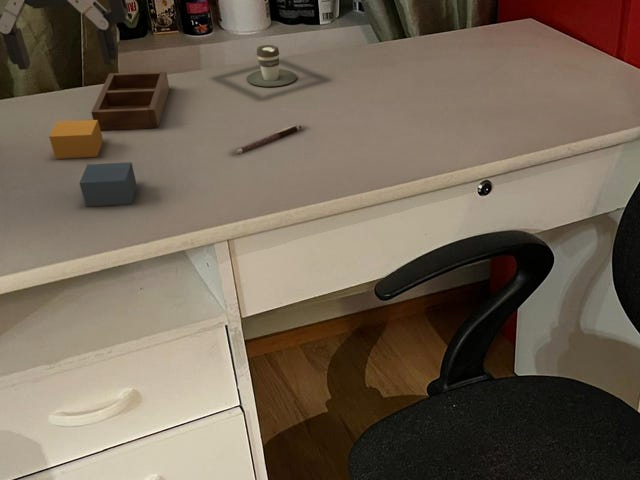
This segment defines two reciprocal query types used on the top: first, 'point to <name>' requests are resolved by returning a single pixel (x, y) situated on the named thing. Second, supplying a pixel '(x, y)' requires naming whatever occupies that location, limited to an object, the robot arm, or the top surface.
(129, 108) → the back frame
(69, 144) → the orange block
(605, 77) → the top surface
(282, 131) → the pen
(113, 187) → the pad grey
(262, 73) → the coffee cup
